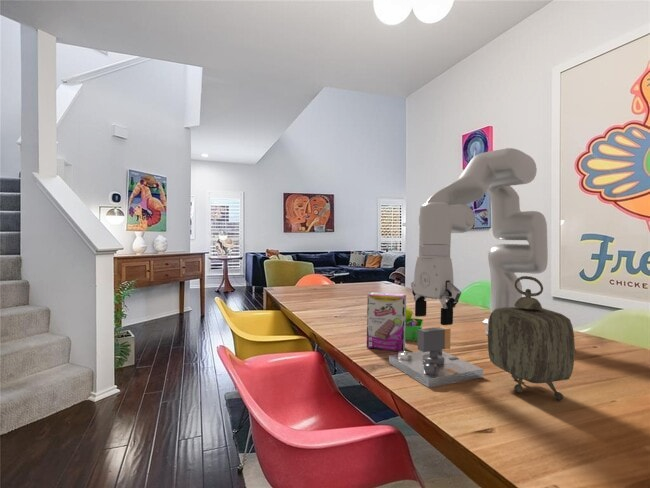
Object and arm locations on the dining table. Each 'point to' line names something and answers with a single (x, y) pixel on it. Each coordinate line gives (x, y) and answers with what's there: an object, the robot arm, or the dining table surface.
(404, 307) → the candy bar box
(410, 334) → the fruit basket
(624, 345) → the dining table surface
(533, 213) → the robot arm
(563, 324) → the tabletop clock
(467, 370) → the levelling base
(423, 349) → the knob
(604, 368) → the dining table surface
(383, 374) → the dining table surface
